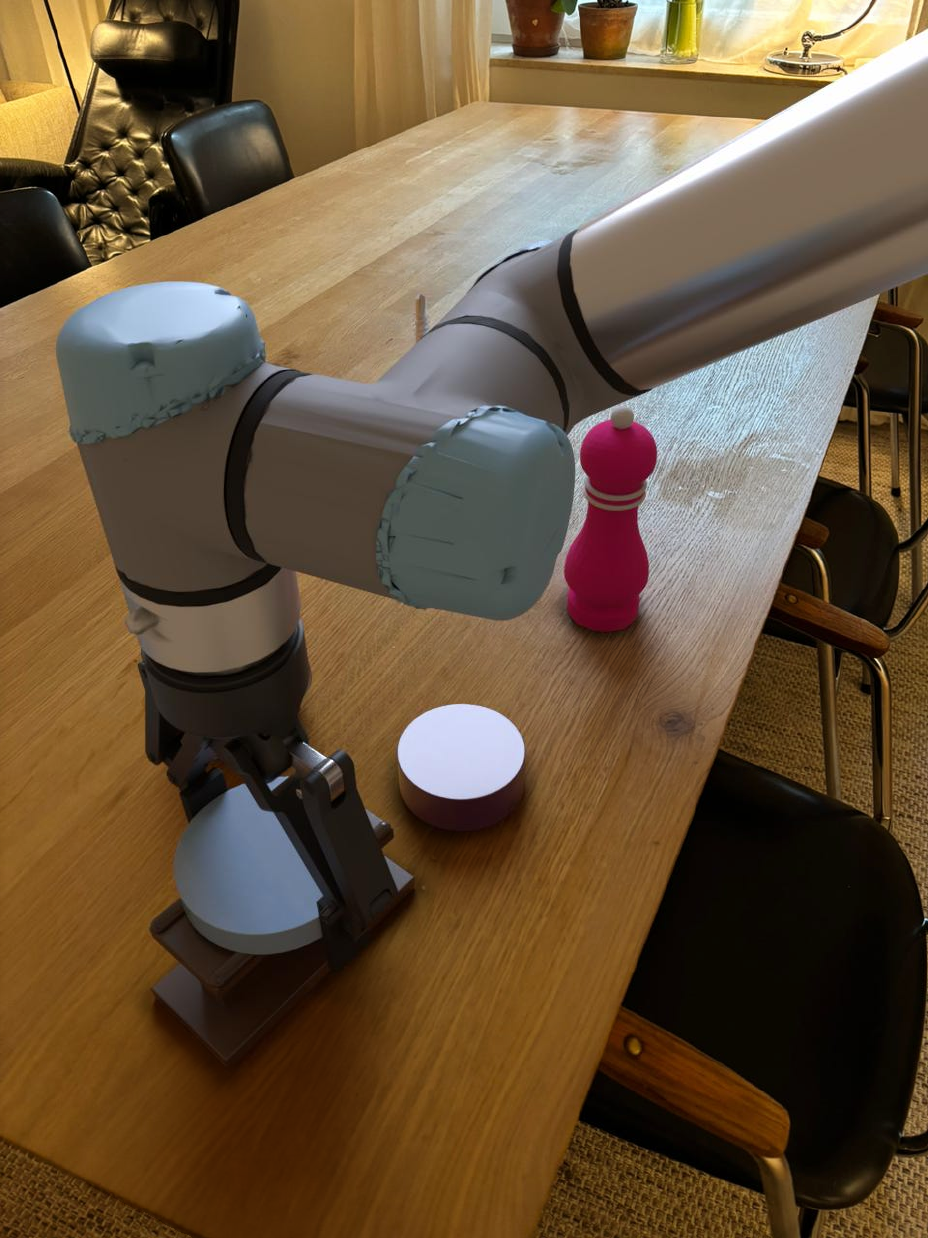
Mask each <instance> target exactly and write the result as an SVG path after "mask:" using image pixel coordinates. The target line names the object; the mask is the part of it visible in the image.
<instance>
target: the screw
mask: <svg viewBox="0 0 928 1238" xmlns="http://www.w3.org/2000/svg"><path fill="white" fill-rule="evenodd" d="M427 305H428V304H427V296H426V295H424V294H423V293H419V294H417V295H416V296H415V297H414V313H413V315H414V318H413V320H412V321H414V323H413V324H412V326H413V327H414V328H413V332H414V334H413V336H414V337H415V338H414V339H413V341H414V342H415V343H414V344H413V346H414V345H415V344H416V343H417V342H418V341H419V340H420V339H421V338H422V337H423V336H424V335H425V334H426V333H427V332H429V331H430V330H431V325H430V323H431V321H430V320H429V318H430V315H428V308H427V307H428V306H427Z"/></svg>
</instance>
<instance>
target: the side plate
mask: <svg viewBox="0 0 928 1238" xmlns="http://www.w3.org/2000/svg"><path fill="white" fill-rule="evenodd" d="M288 777H289V776H279V777H278V778H277V779H275V780H274V781H273V782H271V783H268V784H267V785H268V787H269V788H270V790H271V791H272V790H273V789H274V788H276V787H277V786H278V785H279V784H281V783H282V782H283V781H284V780H286V779H287V778H288ZM187 824H188V823H187ZM172 869H173V879H174V883H175V887H176V891H177V894H178V896H179V898H180V899H181V902H182V905H183V908H184V910H185V913H186V915H187V917H188V919H189V920H190V922H191V923H192V925H193V926H194V927H195V928H196V929H197V930H198V931H199V932H200V933H201V934H202V935H203V936H204V937H206V938H207V939H208V940H210V941H211V942H213V943H215V944H217V945H219V946H221V947H223V948H226V949H229V950H231V951H236V952H240V953H245V954H256V955H260V954H275V953H282V952H286V951H290V950H294V949H297V948H300V947H302V946H305V945H308V944H310V943H312V942H314V941H316V940H318V939H319V938H321V937H323V935H322V930H321V924H320V919H319V915H318V914H319V913H318V908H317V903H316V902H317V901H318V900H319V899H320V898H321V897H322V896H323V895H322V893H321V892H320V890H319V888H318V886H317V885H316V883H315V881H314V880H313V878H312V876H311V875H310V873H309V871H308V870H307V868H306V866H305V865H304V863H303V861H302V860H301V858H300V856H299V855H298V853H297V851H296V850H295V848H294V846H293V845H292V843H291V841H290V840H289V838H288V836H287V834H286V833H285V831H284V829H283V828H282V826H281V824H280V823H279V821H278V819H277V818H276V816H275V814H274V813H273V812H268V811H264V810H261V809H260V808H259V806H258V804H257V803H256V801H255V799H254V798H253V796H252V794H251V793H250V791H249V789H248V788H247V786H246V784H245V783H242V784H240V785H237V786H234V787H233V788H230V789H228V791H227V792H225V793H223V794H221V795H219V796H218V797H217V798H215V799H214V800H212V801H211V802H210V803H208V804H207V805H206V806H205V807H204V808H202V809H201V810H200V811H199V812H198V814H197V815H196V816H195V817H194V818H193V819H192V820H191V822H190V823H189V824H188V825H187V826H186V827H185V828H184V831H183V832H182V834H181V835H180V838H179V840H178V843H177V846H176V849H175V853H174V858H173V868H172Z"/></svg>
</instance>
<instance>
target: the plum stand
mask: <svg viewBox="0 0 928 1238" xmlns="http://www.w3.org/2000/svg"><path fill="white" fill-rule="evenodd" d="M396 758H397V759H396V761H397V772H398V773H397V774H398V784H399V792H400V796H401V799H402V800H403V803H404V805H405V806H406V807H407V808H408V810H409V811H410V812H411V813H412V814H413V815H414V816H415V817H416V818H417V819H419V820H420V821H422V822H424V824H425V823H426V824H427V825H429V826H432V827H434V828H437V829H441V830H445V831H449V832H450V831H451V832H472V831H478V830H482V829H486V828H488V827H491V826H494V825H495V824H497V823H499V822H501V821H502V820H504V819H506V817H507V816H509V815H510V814H511V813H512V812H513V810H514V809H515V808H517V805H518V804H519V802H520V801H521V798H522V796H523V792H524V787H525V771H526V770H525V769H526V744H525V740H524V738H523V735H522V733H521V731H520V730H519V729H518V727H517V726H516V725H515V724H514V723H513V722H512V720H510V719H509V718H508V717H506V716H505V715H503V714H501V713H500V712H498V711H496V710H495V709H491V708H489V707H486V706H482V705H479V704H471V703H452V704H446V705H441V706H438V707H434V708H431V709H430V710H428V711H425V712H423V713H421V714H419V716H417V717H416V718H414V719H412V720H411V722H409V724H408V725H407V726H406V727H405V729H404V730H403V732H402V733H401V735H400V737H399V741H398V742H397V748H396Z"/></svg>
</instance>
